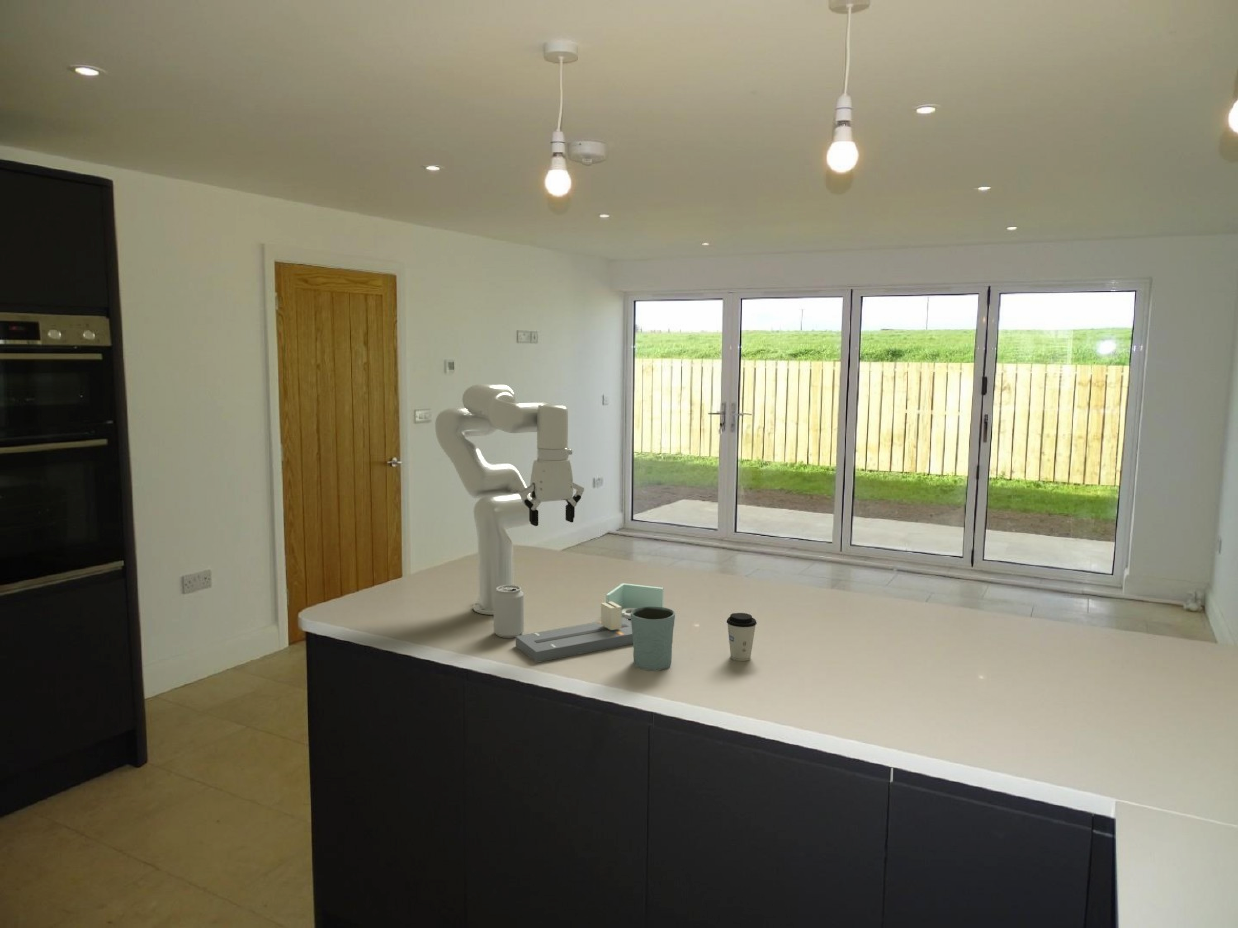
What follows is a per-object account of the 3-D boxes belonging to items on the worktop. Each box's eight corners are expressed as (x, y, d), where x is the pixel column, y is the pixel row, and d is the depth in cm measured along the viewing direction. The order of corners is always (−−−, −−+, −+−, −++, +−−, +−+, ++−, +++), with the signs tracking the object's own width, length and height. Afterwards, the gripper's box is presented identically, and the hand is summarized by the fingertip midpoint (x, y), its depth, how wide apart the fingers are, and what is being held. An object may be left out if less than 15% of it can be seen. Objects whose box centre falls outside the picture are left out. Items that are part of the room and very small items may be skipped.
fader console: (515, 646, 198) (515, 635, 197) (623, 626, 213) (623, 616, 212) (536, 662, 187) (536, 651, 187) (647, 640, 202) (647, 630, 202)
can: (518, 640, 202) (518, 592, 200) (489, 637, 204) (488, 590, 202) (527, 630, 209) (527, 584, 208) (499, 628, 211) (499, 582, 209)
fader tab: (600, 624, 205) (601, 602, 204) (611, 622, 207) (611, 600, 206) (610, 630, 201) (611, 608, 200) (621, 628, 202) (621, 606, 202)
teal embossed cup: (643, 674, 181) (644, 621, 179) (622, 659, 190) (622, 609, 188) (682, 666, 186) (683, 615, 184) (660, 652, 195) (660, 603, 193)
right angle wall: (606, 622, 218) (606, 594, 217) (622, 609, 229) (622, 583, 228) (648, 627, 214) (649, 599, 213) (663, 614, 225) (663, 587, 224)
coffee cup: (758, 654, 194) (759, 613, 193) (752, 664, 187) (754, 622, 186) (728, 650, 196) (729, 609, 195) (722, 660, 190) (723, 618, 188)
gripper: (576, 451, 210) (576, 517, 212) (513, 455, 201) (513, 523, 203) (590, 455, 203) (589, 522, 206) (526, 458, 194) (526, 529, 197)
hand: (552, 523), depth 204 cm, fingers open, 9 cm apart
